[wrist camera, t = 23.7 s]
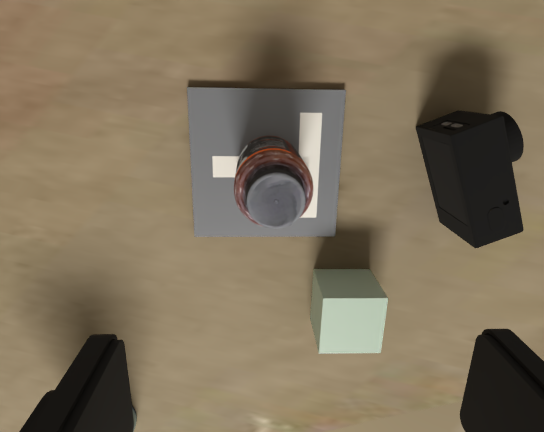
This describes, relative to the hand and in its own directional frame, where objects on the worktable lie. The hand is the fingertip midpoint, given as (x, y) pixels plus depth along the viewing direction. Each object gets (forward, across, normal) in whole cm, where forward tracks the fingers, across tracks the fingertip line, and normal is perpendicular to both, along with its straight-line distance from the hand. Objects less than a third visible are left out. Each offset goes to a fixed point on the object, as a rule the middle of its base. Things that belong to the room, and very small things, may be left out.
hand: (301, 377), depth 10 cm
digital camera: (+29, -18, 0) cm, 34 cm away
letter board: (+28, 0, 0) cm, 28 cm away
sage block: (+28, -8, +14) cm, 33 cm away
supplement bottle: (+28, 0, 0) cm, 28 cm away
